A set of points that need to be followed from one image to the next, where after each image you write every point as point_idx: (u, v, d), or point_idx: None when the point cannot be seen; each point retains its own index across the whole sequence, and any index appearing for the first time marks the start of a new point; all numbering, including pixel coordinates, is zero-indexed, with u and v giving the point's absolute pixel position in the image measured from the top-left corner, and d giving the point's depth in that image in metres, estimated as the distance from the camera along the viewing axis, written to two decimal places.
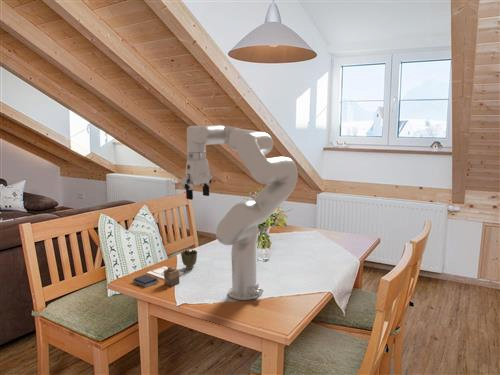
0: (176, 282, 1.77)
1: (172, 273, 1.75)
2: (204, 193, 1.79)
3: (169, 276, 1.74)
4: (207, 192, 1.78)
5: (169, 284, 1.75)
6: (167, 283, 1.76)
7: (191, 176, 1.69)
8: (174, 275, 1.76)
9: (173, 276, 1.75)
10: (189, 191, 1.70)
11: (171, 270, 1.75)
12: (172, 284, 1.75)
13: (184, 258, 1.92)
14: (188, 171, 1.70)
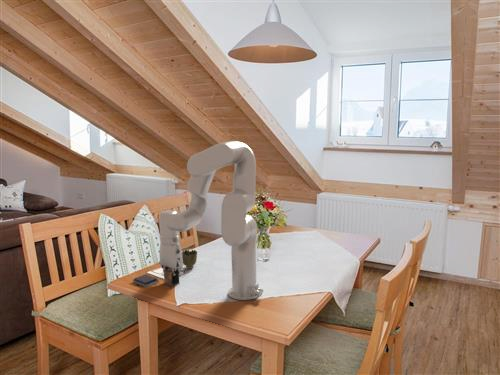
0: None
1: (172, 273, 1.75)
2: None
3: (169, 276, 1.74)
4: None
5: (169, 284, 1.75)
6: (167, 283, 1.76)
7: (181, 259, 1.74)
8: None
9: None
10: (177, 275, 1.76)
11: (171, 270, 1.75)
12: (172, 284, 1.75)
13: (184, 258, 1.92)
14: (178, 255, 1.72)
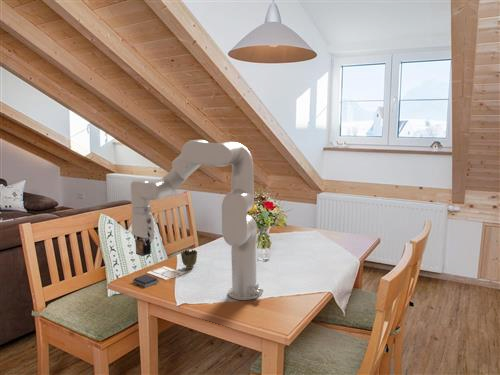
0: None
1: (143, 243, 1.74)
2: None
3: (140, 246, 1.74)
4: None
5: (140, 254, 1.75)
6: (138, 253, 1.76)
7: (152, 228, 1.74)
8: None
9: None
10: None
11: None
12: (143, 254, 1.75)
13: (184, 258, 1.92)
14: (149, 225, 1.72)
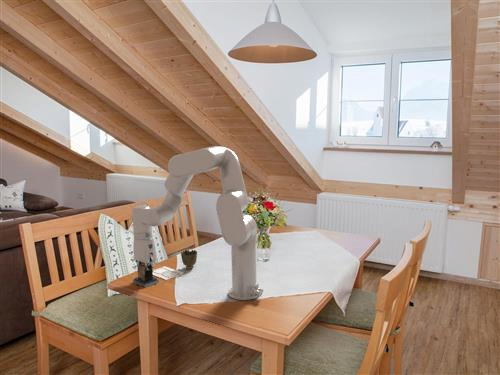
0: None
1: (145, 268, 1.76)
2: None
3: (142, 270, 1.76)
4: None
5: (142, 278, 1.77)
6: (140, 277, 1.78)
7: (154, 253, 1.75)
8: None
9: None
10: None
11: None
12: (145, 278, 1.77)
13: (184, 258, 1.92)
14: (150, 250, 1.74)
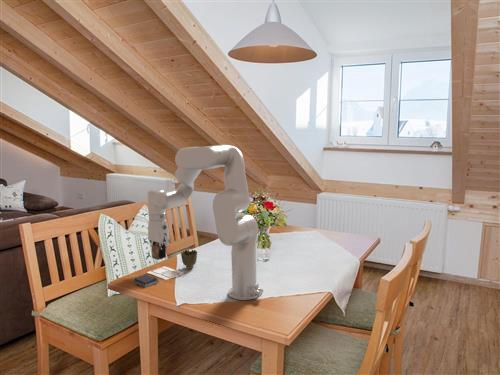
0: None
1: (159, 247, 1.88)
2: None
3: (156, 250, 1.88)
4: None
5: (156, 257, 1.89)
6: (154, 256, 1.90)
7: (168, 234, 1.87)
8: None
9: None
10: (164, 249, 1.89)
11: (158, 244, 1.89)
12: None
13: (184, 258, 1.92)
14: (164, 231, 1.86)
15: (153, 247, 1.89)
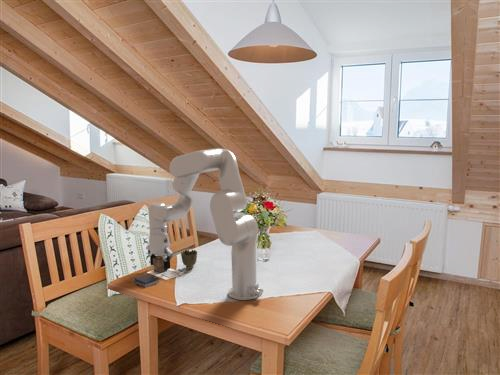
0: None
1: (160, 261, 1.89)
2: None
3: (158, 263, 1.89)
4: None
5: (158, 271, 1.89)
6: (156, 270, 1.90)
7: (169, 247, 1.88)
8: (163, 262, 1.90)
9: (161, 263, 1.89)
10: None
11: (160, 258, 1.90)
12: (160, 271, 1.89)
13: (184, 258, 1.92)
14: (165, 244, 1.87)
15: (154, 261, 1.90)
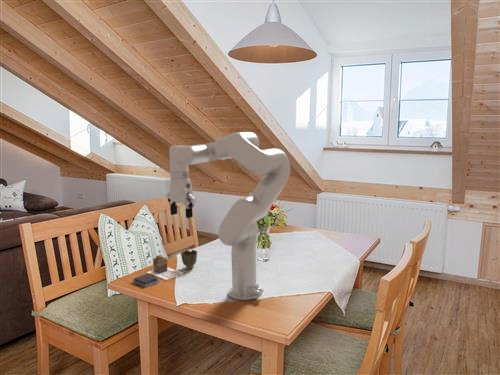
0: (164, 269, 1.91)
1: (160, 261, 1.89)
2: (173, 212, 1.79)
3: (158, 263, 1.89)
4: (176, 210, 1.80)
5: (158, 271, 1.89)
6: (156, 270, 1.90)
7: (191, 194, 1.73)
8: (163, 262, 1.90)
9: (161, 263, 1.89)
10: None
11: (160, 258, 1.90)
12: (160, 271, 1.89)
13: (184, 258, 1.92)
14: (188, 190, 1.72)
15: (154, 261, 1.90)
